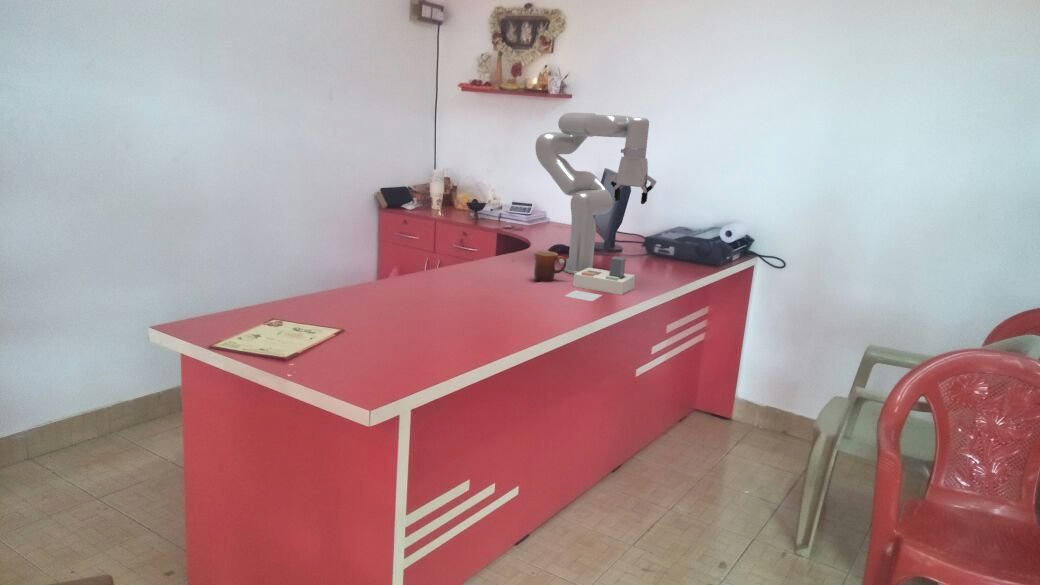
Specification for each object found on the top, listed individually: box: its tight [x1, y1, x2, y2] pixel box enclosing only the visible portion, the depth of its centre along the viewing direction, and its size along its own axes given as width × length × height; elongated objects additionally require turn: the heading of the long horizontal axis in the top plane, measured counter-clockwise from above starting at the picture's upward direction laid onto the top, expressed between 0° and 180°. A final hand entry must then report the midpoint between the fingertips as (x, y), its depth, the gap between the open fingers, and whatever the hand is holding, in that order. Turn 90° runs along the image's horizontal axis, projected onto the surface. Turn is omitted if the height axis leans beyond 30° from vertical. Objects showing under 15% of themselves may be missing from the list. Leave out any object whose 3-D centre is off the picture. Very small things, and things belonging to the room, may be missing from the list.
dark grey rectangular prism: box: [609, 256, 627, 279], centre depth 250 cm, size 4×4×10 cm
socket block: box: [572, 267, 636, 296], centre depth 253 cm, size 18×14×6 cm
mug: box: [533, 250, 567, 283], centre depth 258 cm, size 12×9×10 cm
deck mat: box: [564, 289, 603, 302], centre depth 239 cm, size 10×10×1 cm
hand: (630, 202), depth 255 cm, fingers open, 9 cm apart
